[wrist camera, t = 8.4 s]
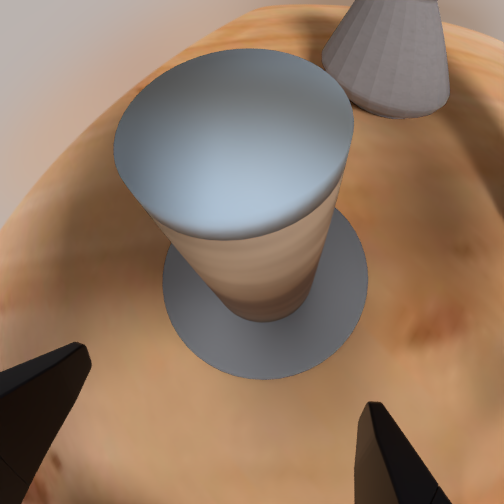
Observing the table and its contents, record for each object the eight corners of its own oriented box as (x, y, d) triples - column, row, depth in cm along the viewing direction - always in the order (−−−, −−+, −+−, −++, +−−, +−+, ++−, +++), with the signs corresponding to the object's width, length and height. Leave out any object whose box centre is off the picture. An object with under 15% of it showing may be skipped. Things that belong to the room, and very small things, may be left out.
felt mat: (342, 398, 15) (344, 399, 15) (141, 344, 17) (137, 344, 17) (374, 207, 19) (377, 202, 19) (201, 175, 21) (199, 170, 21)
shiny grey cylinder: (306, 329, 16) (353, 235, 5) (205, 313, 17) (78, 207, 6) (317, 234, 18) (348, 55, 7) (225, 223, 19) (161, 54, 8)
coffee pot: (405, 159, 20) (471, -22, 6) (293, 86, 24) (286, -74, 10) (478, 74, 24) (514, -22, 10) (401, 28, 28) (416, -67, 14)
